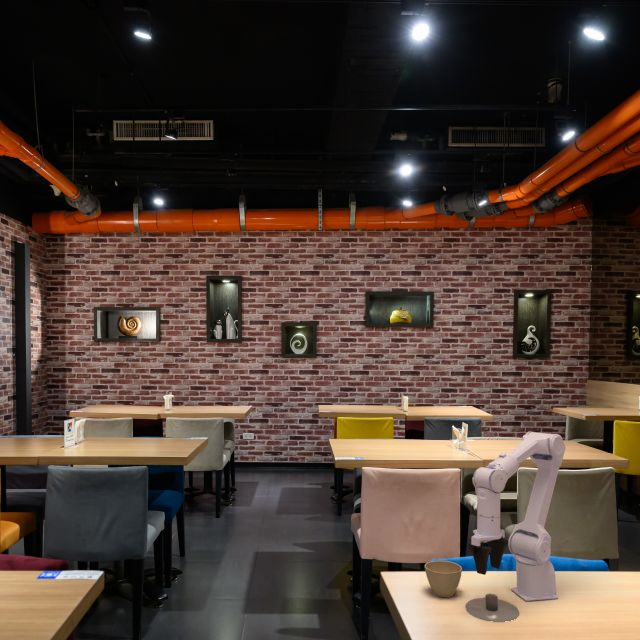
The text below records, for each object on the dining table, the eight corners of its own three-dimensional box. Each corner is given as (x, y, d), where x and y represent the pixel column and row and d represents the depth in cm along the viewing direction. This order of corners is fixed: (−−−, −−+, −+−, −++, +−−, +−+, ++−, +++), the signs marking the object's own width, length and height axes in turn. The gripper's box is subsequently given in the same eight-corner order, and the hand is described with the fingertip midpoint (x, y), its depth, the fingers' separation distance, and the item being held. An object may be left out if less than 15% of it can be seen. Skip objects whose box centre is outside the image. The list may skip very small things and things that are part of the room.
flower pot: (464, 602, 139) (462, 574, 140) (425, 599, 141) (424, 571, 142) (461, 587, 149) (460, 561, 150) (425, 585, 151) (424, 559, 152)
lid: (503, 599, 142) (502, 584, 142) (529, 621, 129) (528, 605, 130) (457, 603, 140) (456, 588, 140) (479, 626, 127) (479, 609, 128)
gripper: (487, 509, 146) (487, 561, 144) (460, 516, 135) (460, 572, 133) (512, 514, 141) (512, 568, 139) (486, 521, 130) (486, 579, 128)
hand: (488, 570), depth 136 cm, fingers open, 7 cm apart
